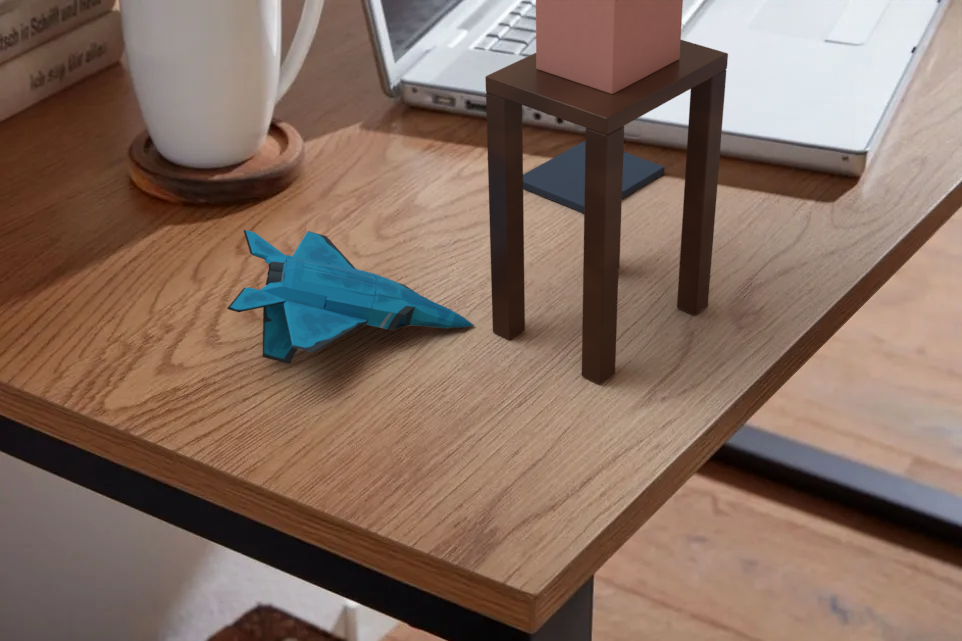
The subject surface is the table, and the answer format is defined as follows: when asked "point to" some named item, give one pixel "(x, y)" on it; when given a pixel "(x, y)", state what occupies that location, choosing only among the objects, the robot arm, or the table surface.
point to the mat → (583, 177)
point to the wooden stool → (601, 185)
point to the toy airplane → (328, 299)
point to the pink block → (607, 39)
